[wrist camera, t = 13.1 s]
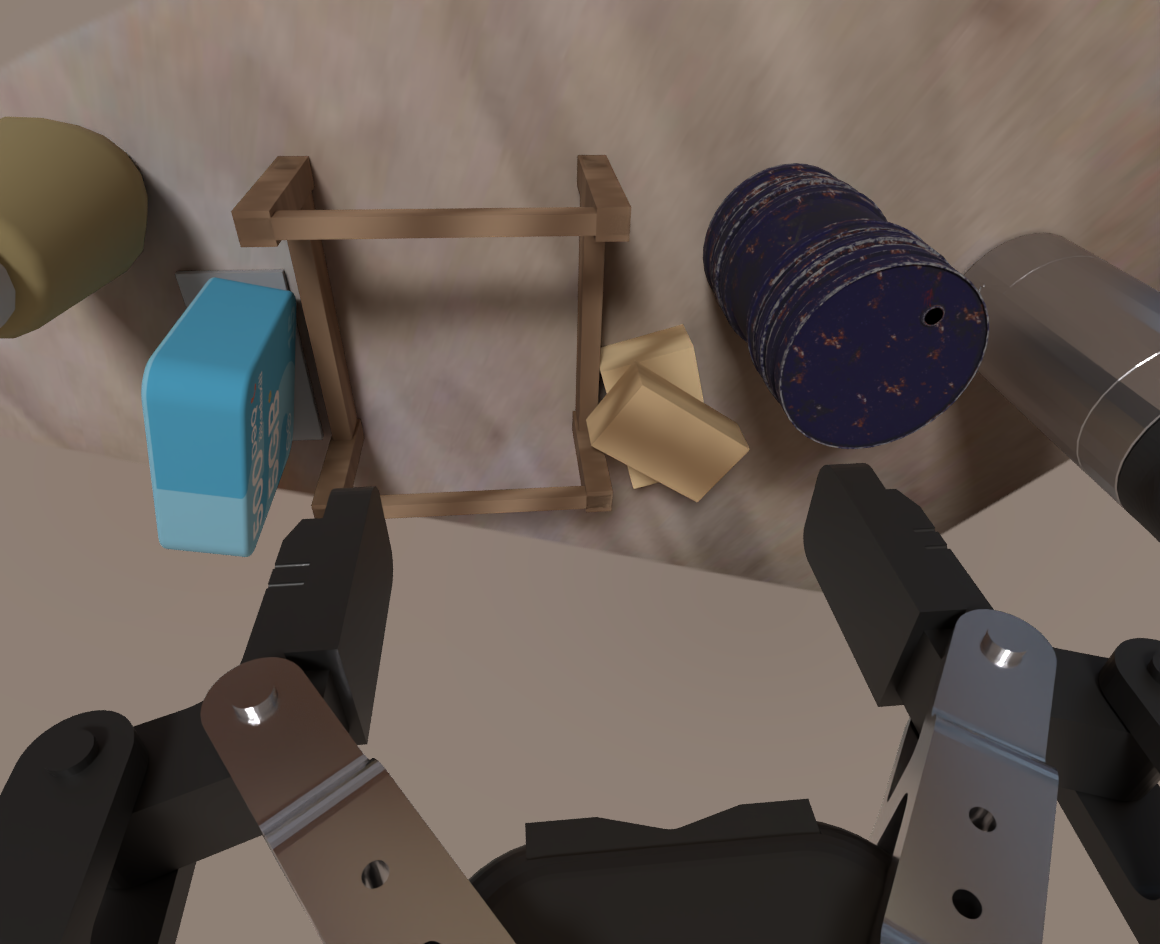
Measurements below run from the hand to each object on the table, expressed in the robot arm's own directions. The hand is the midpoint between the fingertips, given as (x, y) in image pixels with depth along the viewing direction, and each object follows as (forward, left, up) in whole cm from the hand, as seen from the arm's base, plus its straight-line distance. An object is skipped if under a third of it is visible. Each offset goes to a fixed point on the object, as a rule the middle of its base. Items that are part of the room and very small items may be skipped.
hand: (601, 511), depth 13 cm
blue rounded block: (+17, +14, -32) cm, 39 cm away
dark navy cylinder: (-15, +7, -33) cm, 37 cm away
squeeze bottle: (+24, +3, -33) cm, 40 cm away
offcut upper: (-9, +18, -29) cm, 36 cm away
